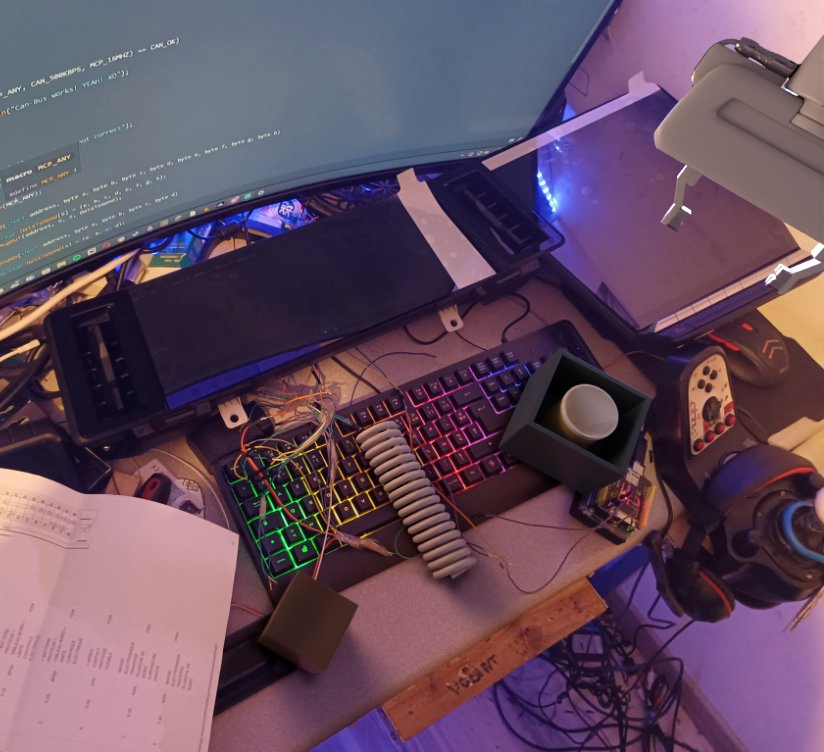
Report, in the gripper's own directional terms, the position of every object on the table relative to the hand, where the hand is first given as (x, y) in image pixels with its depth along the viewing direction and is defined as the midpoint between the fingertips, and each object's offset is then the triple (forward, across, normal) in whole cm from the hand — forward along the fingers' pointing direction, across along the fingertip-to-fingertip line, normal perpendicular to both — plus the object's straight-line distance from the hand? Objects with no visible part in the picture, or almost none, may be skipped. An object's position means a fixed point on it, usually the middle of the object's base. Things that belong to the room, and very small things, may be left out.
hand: (720, 257), depth 58 cm
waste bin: (+28, +1, +13) cm, 31 cm away
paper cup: (+27, +1, +12) cm, 30 cm away
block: (+47, -10, -16) cm, 51 cm away
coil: (+37, -8, -2) cm, 38 cm away
